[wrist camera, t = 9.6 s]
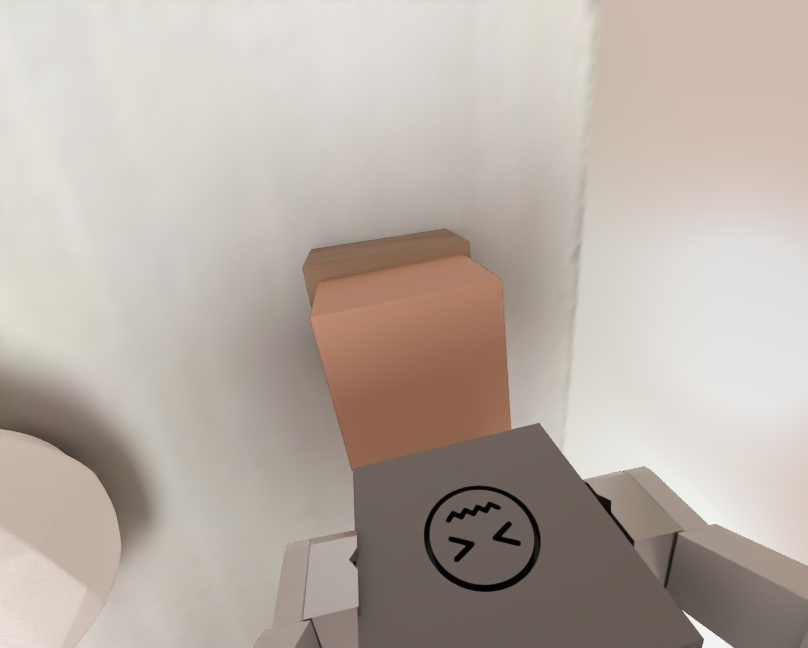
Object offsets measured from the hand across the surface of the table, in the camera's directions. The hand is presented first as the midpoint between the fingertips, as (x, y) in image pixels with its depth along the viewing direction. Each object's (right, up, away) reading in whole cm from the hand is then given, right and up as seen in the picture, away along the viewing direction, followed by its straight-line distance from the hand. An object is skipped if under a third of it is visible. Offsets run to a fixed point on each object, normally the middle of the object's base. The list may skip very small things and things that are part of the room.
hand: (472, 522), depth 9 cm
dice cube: (0, -1, +2) cm, 3 cm away
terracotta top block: (-2, +4, +11) cm, 12 cm away
